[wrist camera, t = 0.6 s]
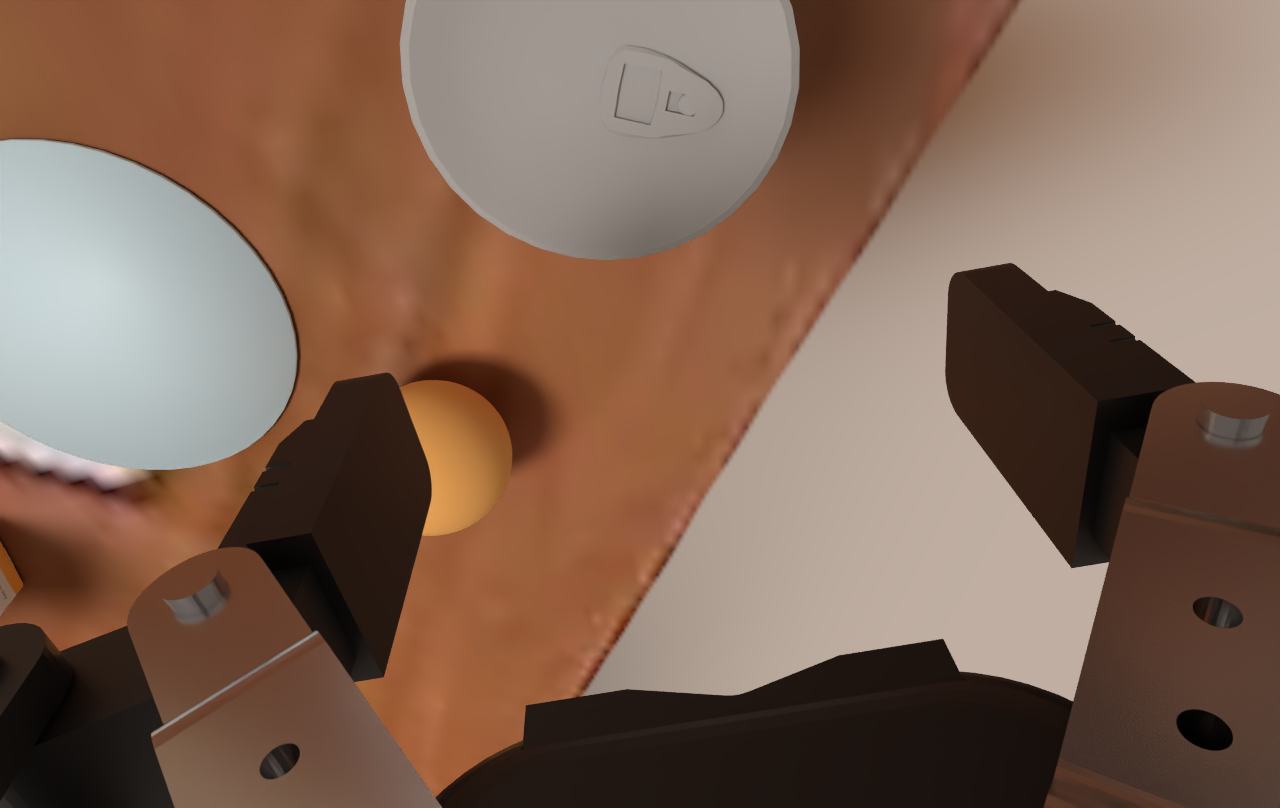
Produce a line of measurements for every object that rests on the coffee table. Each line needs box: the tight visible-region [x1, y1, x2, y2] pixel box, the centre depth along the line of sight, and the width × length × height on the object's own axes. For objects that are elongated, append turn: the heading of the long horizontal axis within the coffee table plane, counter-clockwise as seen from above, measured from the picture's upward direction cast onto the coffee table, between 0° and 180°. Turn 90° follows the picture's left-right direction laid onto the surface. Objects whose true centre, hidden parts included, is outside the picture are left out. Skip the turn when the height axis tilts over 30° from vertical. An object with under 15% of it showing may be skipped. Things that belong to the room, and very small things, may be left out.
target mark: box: [0, 139, 298, 470], centre depth 30 cm, size 14×14×1 cm
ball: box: [399, 380, 512, 536], centre depth 31 cm, size 6×6×6 cm
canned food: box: [400, 0, 800, 260], centre depth 20 cm, size 8×8×11 cm
